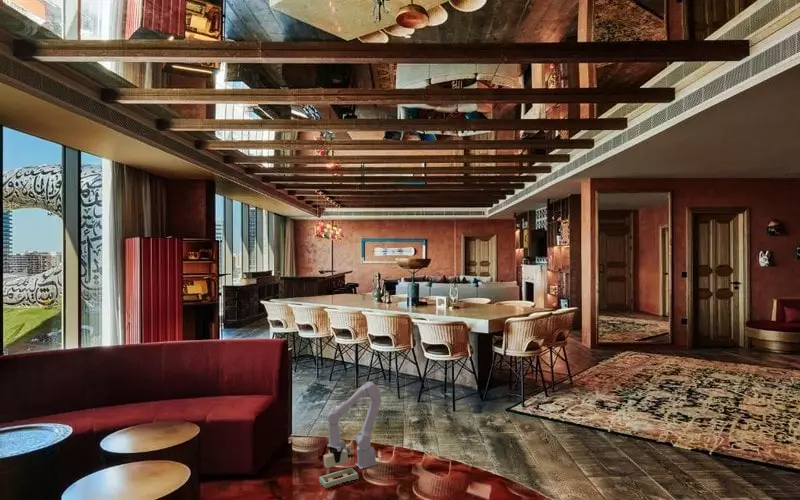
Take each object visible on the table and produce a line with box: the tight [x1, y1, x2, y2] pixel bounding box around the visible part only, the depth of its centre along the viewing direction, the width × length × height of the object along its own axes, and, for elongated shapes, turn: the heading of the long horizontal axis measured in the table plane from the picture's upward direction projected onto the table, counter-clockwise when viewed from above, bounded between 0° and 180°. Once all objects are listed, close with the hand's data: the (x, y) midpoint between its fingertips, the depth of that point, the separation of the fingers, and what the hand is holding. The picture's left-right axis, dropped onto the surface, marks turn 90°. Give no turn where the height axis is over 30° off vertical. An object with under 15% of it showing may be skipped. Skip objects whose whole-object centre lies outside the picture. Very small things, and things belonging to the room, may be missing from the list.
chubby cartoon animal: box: [340, 438, 353, 456], centre depth 249 cm, size 7×12×8 cm, turn 67°
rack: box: [318, 467, 359, 488], centre depth 217 cm, size 18×9×3 cm, turn 118°
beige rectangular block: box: [323, 449, 349, 469], centre depth 229 cm, size 12×4×5 cm, turn 118°
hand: (336, 460), depth 229 cm, fingers closed on beige rectangular block, 4 cm apart
